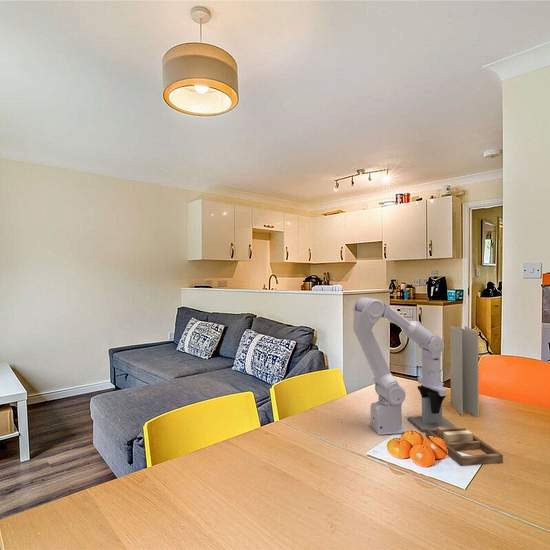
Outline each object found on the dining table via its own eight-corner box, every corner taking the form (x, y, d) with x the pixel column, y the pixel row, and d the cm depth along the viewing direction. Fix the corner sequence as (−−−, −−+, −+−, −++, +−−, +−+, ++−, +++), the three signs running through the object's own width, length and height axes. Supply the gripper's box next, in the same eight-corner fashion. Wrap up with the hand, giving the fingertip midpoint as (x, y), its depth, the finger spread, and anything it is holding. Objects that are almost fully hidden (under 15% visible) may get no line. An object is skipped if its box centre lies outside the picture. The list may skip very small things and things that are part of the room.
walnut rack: (461, 465, 96) (461, 458, 96) (425, 435, 114) (425, 429, 114) (502, 462, 98) (502, 455, 98) (461, 433, 116) (461, 426, 116)
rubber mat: (422, 432, 116) (422, 429, 116) (407, 419, 126) (407, 417, 126) (457, 430, 118) (457, 427, 118) (440, 417, 128) (440, 415, 128)
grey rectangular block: (425, 423, 121) (424, 399, 121) (422, 421, 123) (421, 397, 123) (442, 422, 121) (441, 398, 121) (438, 420, 123) (438, 396, 123)
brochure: (478, 417, 127) (478, 332, 127) (461, 416, 129) (461, 331, 128) (466, 403, 141) (465, 326, 141) (450, 402, 142) (450, 325, 142)
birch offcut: (447, 448, 106) (447, 435, 106) (443, 445, 108) (443, 432, 108) (472, 446, 107) (472, 433, 107) (468, 443, 109) (468, 430, 109)
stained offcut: (440, 443, 110) (440, 429, 109) (436, 439, 112) (436, 427, 111) (465, 441, 110) (465, 428, 110) (461, 438, 112) (461, 425, 112)
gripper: (455, 375, 115) (455, 418, 115) (430, 364, 129) (431, 402, 130) (434, 376, 114) (434, 419, 114) (411, 364, 129) (412, 403, 129)
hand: (431, 410), depth 122 cm, fingers open, 4 cm apart
